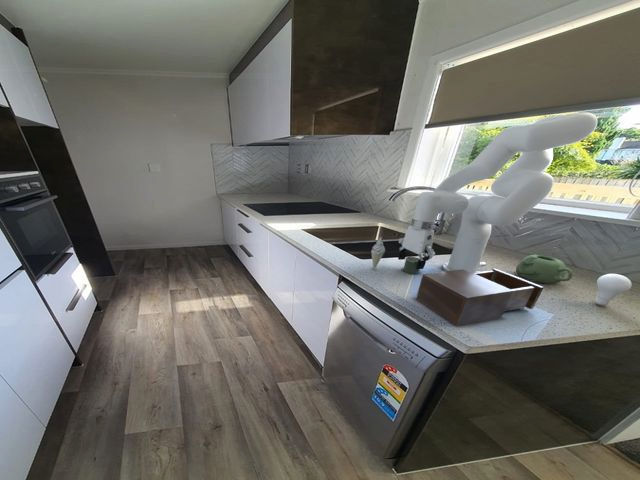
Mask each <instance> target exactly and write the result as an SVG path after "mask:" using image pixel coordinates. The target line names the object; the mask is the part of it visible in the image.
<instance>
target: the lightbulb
mask: <svg viewBox="0 0 640 480" xmlns="http://www.w3.org/2000/svg"><path fill="white" fill-rule="evenodd" d="M596 286H597V290H598V291H597V293H596V298H595V300H594V302H595V303H596V304H597V305H598V306H608V305H609V304H610V302H611V301H613V300H615V298H616V297H617V296H618V295H622V294H623V293H625V292H628V291H629V290H630V289H631V288H632V281H631V280H630V279H629V278H628V277H626V276H625V275H622V274H619V273H618V274H617V273H606V274H604V275H601V276H599V277H598V278H597V280H596Z"/></svg>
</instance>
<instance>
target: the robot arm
mask: <svg viewBox="0 0 640 480" xmlns="http://www.w3.org/2000/svg"><path fill="white" fill-rule="evenodd" d="M597 127H598V117H597V116H596V115H595V114H593V113H592V112H587V111H582V112H574V113H567V114H559V115H553V116H546V117H542V118H539V119H536V120H535V121H533V122H531V123H525V124H516V125H515V124H514V125H511V126H507V127H505V128H504V129H503V130H501V131H500V132H499V133H498V134H497V135H496V136H495V137H494V138H493V139H492V140H491V141H490V142H489V143H488V144H487V145H486V147H484V148H483V149H482V151H480V153H479V154H478V155H477V156H476V157H475V158H474V159H473V160H472V161H471V162H470V163H469V164H467V165H465V166H464V167H462V168H460V169H458V170H457V171H454V173H452V174H450V175H449V176H447V177H446V178H445V179H443V180H442V182H440V183H439V185H438V186H436V188H435V189H434V190H433V191H422V192H421V193H419V195H418V198H417V202H416V205H415V208H414V212H413V216H412V219H411V222H410V225H409V226H408V228H407V230H406V232H405V234H404V237H401V238H398V247H399V249H398V250H399V253H398V257H397V260H399V261H402V260H406V257H407V254H408V251H409V252H412V253H414V254H417V255H418V258H419V259H420V260H418V263H417V266H416V269H419V270H423V269H424V268H425V266H426V263H427V261H429V260H431V259H432V258H433V257H434V256H435V255H436V252H435V251H434V249H433V243H434V238H435V230H434V229H435V228H437V227H436V225H435V224H436V220H437V217H438V215H439V213H442V214H446V215H447V214H448V215H459V214H461V213H462V214H461V222H460V226H459V230H458V232H457V235H456V238H455V242H454V245H453V247H452V250H451V254H450V257H449V260H448V262H446V263H443V264H442V269H443V270H444V272H446V271H454V270H462V269H464V270H467V271H469V272H471V273H477V272H481V271H480V270H479V269H480V268H481V267H482V268H483V267H486V266H487V263H486V262H485V261H482V257H483V255H484V253H485V250H486V247H487V245H488V242H489V240H490V238H491V234H492V226H494V227H503V228H504V227H508V226H511V225H513V224H515V223H516V222H518V221H519V220H520V219H522V217H524V216H525V215H526V214H527V213H529V212H530V211H531V210H532V209H533V208H535V207H536V206H537V205H538V204H539V203H541V202H542V201H543V200H544V199H545V198H546V197H547V196H548V195H549V194H550V193H551V191H552V189H553V187H554V183H555V182H554V181H555V180H554V178H553V176H552V175H550V174H549V173H547V172H545V171H546V170H547V169H548V168H549V167H550V165H551V164H552V162H553V159H554V149H556V148H560V147H564V146H569V145H573V144H577V143H580V142H581V141H583V140H585V139H586V138H588V137H590V136H591V135H592V134H593V133H594V132H595V130H596V128H597ZM518 153H521V154H520V156H518V158H517V159H516V160H515V161H514V162H513V163H512V164H511V165H510V166H509V167H508V168H506V169H505V170H504V171H503V172H502V173H501V174H500V175H499V176H498V177H497V178H496V179H494V181H493V182H492V184H491V185H490V191H491V192H492V193H493V194H494V195H491V194H477V195H474V196H471V197H470V198H469V199H468V198H467V196H466V195H464V194H461V193H458V191H459V190H461V189H462V188H464V187H467V186H468V185H470V184H473V183H477V182H480V181H484V180H487V179H490V178H493V177H494V176H496V175H497V174H498V172H499V171H501V169H503V168H504V167H505V166H506V165H507V163H509V162H510V161H511V160H512V159H513V158H514V157H515V156H516V155H517V154H518Z"/></svg>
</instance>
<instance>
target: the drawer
mask: <svg viewBox="0 0 640 480" xmlns="http://www.w3.org/2000/svg"><path fill="white" fill-rule="evenodd" d="M474 274H476V275H478V276H481V277H483V278H485V279H488V280H490V281H492V282H495V283H497V284H499V285H501V286H504V287H506V288H508V289H511V290H513V293H512V296H511V298H510V300H509V302H508V304H507V306H506V308H505V311H504V312H508V311H513V310H514V311H515V310H519V309H525V308H527V309H529V310H533V309H534V308H535V306H536V304H537V302H538V300H539V299H540V296H541V294H542V292H543V291H544V288H545V287H544V286H542V285H540V284H537V283H534V282H532V281H530V280H528V279H525V278H522V277H519V276H516V275H513V274H511V273H508V272H506V271H504V270H500V269H498V268H492V269H491V270H484V271H480V272H477V273H474Z"/></svg>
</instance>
